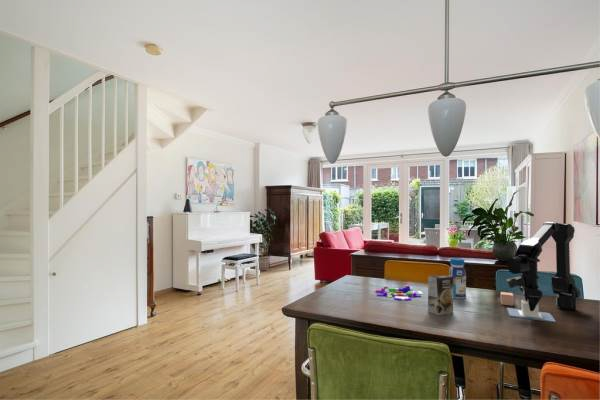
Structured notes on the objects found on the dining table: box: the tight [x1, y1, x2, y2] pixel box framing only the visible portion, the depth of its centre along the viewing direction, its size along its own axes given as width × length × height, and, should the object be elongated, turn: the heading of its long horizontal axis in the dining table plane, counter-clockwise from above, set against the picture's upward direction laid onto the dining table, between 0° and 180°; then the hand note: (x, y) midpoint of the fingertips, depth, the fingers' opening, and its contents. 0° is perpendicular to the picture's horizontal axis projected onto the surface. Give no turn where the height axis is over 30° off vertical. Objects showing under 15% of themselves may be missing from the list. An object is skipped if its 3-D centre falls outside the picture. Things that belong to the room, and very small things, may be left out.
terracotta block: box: [500, 291, 515, 307], centre depth 160 cm, size 5×5×5 cm
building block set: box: [375, 284, 424, 302], centre depth 174 cm, size 25×20×4 cm
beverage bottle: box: [448, 257, 467, 300], centre depth 172 cm, size 8×8×20 cm
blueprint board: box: [506, 307, 557, 323], centre depth 142 cm, size 16×12×1 cm
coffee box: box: [427, 274, 454, 316], centre depth 146 cm, size 9×6×16 cm
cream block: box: [520, 299, 540, 317], centre depth 143 cm, size 6×6×5 cm
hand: (529, 308), depth 142 cm, fingers open, 9 cm apart
